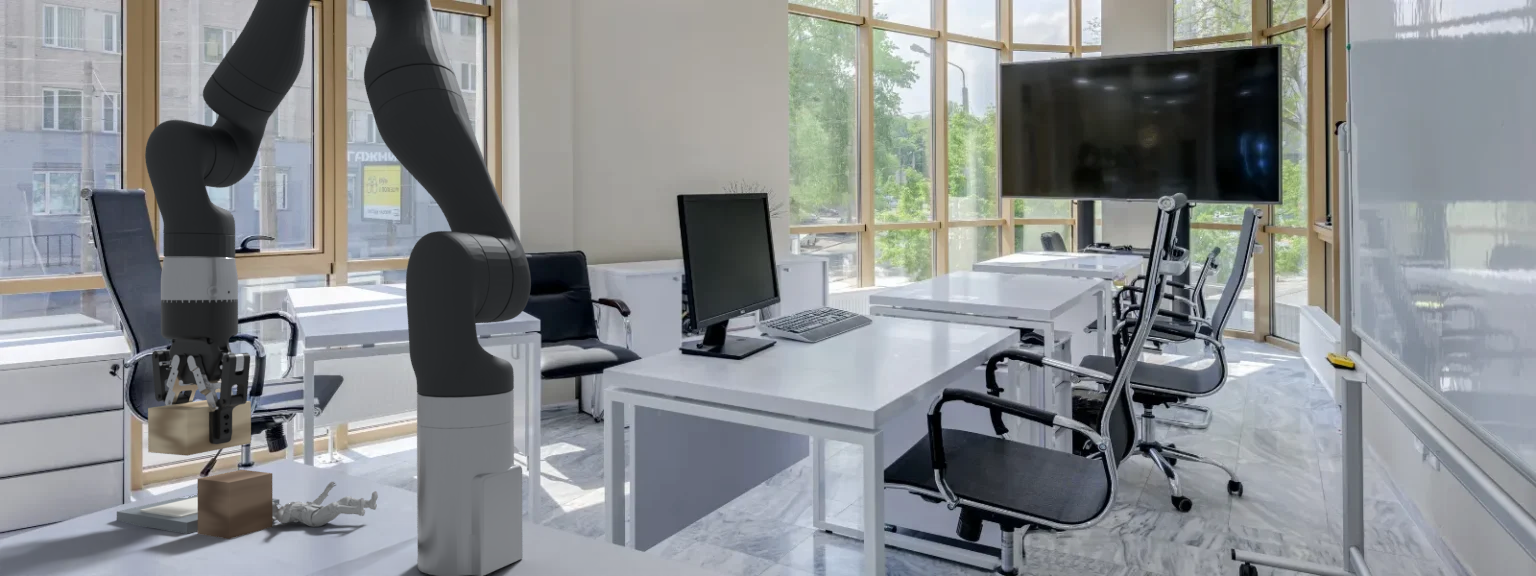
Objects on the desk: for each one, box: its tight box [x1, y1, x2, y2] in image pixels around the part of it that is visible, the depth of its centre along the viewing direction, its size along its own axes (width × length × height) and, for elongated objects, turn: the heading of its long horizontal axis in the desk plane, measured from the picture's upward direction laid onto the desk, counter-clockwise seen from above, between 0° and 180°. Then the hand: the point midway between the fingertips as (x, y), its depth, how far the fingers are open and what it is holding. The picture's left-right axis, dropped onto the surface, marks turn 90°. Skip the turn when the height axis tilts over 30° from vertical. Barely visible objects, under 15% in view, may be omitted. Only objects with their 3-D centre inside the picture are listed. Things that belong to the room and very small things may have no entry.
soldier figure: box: [272, 481, 379, 528], centre depth 98 cm, size 8×5×12 cm
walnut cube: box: [197, 469, 274, 540], centre depth 96 cm, size 5×5×6 cm
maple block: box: [147, 400, 252, 456], centre depth 102 cm, size 6×8×5 cm
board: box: [116, 493, 280, 535], centre depth 102 cm, size 12×11×1 cm
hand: (200, 440), depth 102 cm, fingers closed on maple block, 6 cm apart
